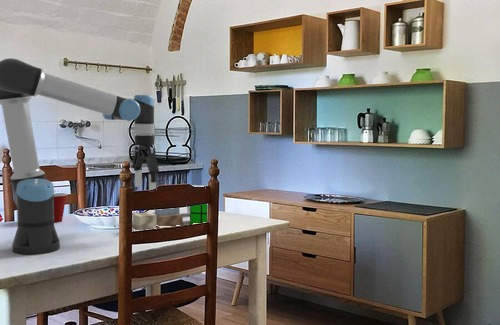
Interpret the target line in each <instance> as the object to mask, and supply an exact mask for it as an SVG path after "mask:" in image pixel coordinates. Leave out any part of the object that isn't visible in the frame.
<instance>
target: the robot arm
mask: <svg viewBox="0 0 500 325" xmlns="http://www.w3.org/2000/svg"><path fill="white" fill-rule="evenodd" d="M36 96H42V97H46V98H49V99H51V100H54V101H55V100H56V101H59V102H62V103H66V104H70V105H73V106H75V107H80V108H82V109H86V110H90V111H94V112H97V113H100V114H102V117H103V118H104V120H107V121H108V120H109V121H110V120H111V121H114V120H115V121H117V120H119V121H120V120H121V121H128V122H130V121H134V124H133V125H134V134H135V135H134V145H135V146H134V154H133V159H132V166H131V168H132V169H133V170H134V187H135V188H138V187H139V188H140V187H143V174H142V173H143V172H142V171H143V168H142V166H143V164H144V161H145V163H146V165H147V166H146V167H147V169H148V191H149V190H153V189H155V188H156V189H157V174H158V173H159V172H160V170H159V165H158V161H157V160H158V159H157V156H156V148H155V147H151V146H153V145H155V135H154V134H155V128H156V126H155V102H154V101H155V100H154V99H155V98H154V96H153V95H152V94H151V95H150V94H135V95H134V96H133V99H132V98H124V97H123V96H118V95H116V94H112V93H111V92H106V91H104V90H100V89H96V88H93V87H90V86H87V85H84V84H81V83H77V82H76V81H71V80H68V79H65V78H61V77H58V76H56V75H52V74H49V73H46V72H44V70H43V69H42V68H40V67H36V66H34V65H32V64H28V63H26V62H25V61H23V60H20V59H17V58H12V57H11V58H10V57H9V58H5V59H1V60H0V105H1V109H2V114H3V119H4V120H3V121H4V125H5V129H6V131H5V132H6V135H7V136H6V137H7V141H8V145H9V146H8V147H9V153H10V157H11V163H12V169H13V170H12V171H13V173H12V175H11V176H10V183H11V189H12V200H13V202H14V204H15V205H16V210H17V211H16V212H17V214H16V215H17V217H16V218H17V219H16V220H17V228H16V231H15V235H14V238H13V241H12V247H11V248H12V252H13V253H15V254H20V255H22V254H23V255H38V254H40V255H41V254H47V253H51V252H55V251H58V250H59V249H60V247H61V241H60V238H59V235H58V233H57V230H56V227H55V223H54V194H55V189H54V183H53V182H52V181H51V180H48V179H46V178H47V177H46V173H45V171H43V170H42V169H41V168H40V165H39V159H38V154H37V153H38V152H37V146H36V142H35V140H36V139H35V135H34V129H33V125H32V124H33V123H32V117H31V113H30V107H29V102H30V100H31V99H32V97H36Z"/></svg>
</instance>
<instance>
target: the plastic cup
mask: <svg viewBox="0 0 500 325" xmlns="http://www.w3.org/2000/svg"><path fill="white" fill-rule="evenodd" d="M67 196H68V193H66V192H65V193H64V192H63V193H62V192H61V193H54V224H57V223H61V222H62V221H63V219H64V218H63V217H64V214H65V213H64V210H65V206H66V205H65V204H66V199H67Z"/></svg>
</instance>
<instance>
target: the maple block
mask: <svg viewBox="0 0 500 325" xmlns="http://www.w3.org/2000/svg"><path fill="white" fill-rule="evenodd" d="M153 213H154V212H150V211H147V212H135V213H132V230H133V229H135V230H146V229H154V228H156V229H157V227H156V215H155V214H153Z"/></svg>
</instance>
